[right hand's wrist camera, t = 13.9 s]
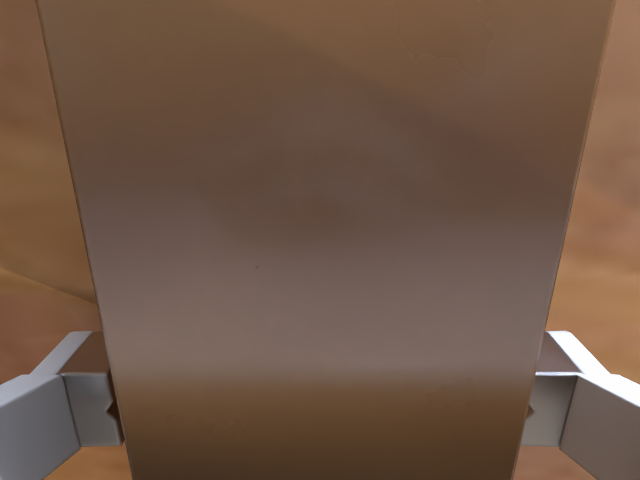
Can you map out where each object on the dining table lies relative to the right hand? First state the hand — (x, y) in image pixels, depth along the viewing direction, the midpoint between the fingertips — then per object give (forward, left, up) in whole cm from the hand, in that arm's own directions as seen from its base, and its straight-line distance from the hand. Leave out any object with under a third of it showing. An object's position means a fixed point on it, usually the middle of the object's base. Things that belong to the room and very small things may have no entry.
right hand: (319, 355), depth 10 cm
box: (-7, -6, -5) cm, 10 cm away
